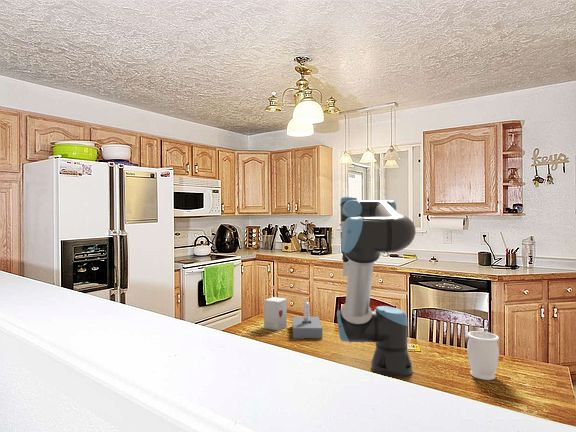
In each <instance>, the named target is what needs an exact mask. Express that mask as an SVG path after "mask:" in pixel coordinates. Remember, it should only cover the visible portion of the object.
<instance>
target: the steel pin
mask: <svg viewBox="0 0 576 432" xmlns="http://www.w3.org/2000/svg"><path fill="white" fill-rule="evenodd" d="M310 311H311V310H310V301H304V302H303V317H304V323H310V317H311V316H310V315H311V313H310Z"/></svg>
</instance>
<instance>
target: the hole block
mask: <svg viewBox="0 0 576 432" xmlns="http://www.w3.org/2000/svg"><path fill="white" fill-rule="evenodd" d="M291 319H292V321H291V322H292V338H293V339H295V340H297V339H299V340H300V339H304V338H322V339H323V325H322V322H321V320H320V316H310V323H304V316H292V318H291Z"/></svg>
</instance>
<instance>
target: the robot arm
mask: <svg viewBox="0 0 576 432" xmlns="http://www.w3.org/2000/svg"><path fill="white" fill-rule="evenodd" d="M339 206H340V223H339V225H338V226H339V227H340V250H341V252H342V257H341V260H342V262H343V263H342V267H343V268H342V274H343V275H342V276H343V277H347V278H346V279H347V282H346V292H345V293H346V294H345V303H344V304H342V307H341V309H340V310H339V309H338V310H337V311H336V317H337V319H336V321H337V328H338V336H339V340H341V341H342V342H347V343H375V350H374V353H373V356H372V358H371V360H370V361H371V362H370V363H371V370H372V371H373V372H374V373H376V374H379V375H381V376H384V375H385V376H384V377H390V378H403V377H408V376H410V375H411V374H412V373H413V365H412V361H411V358H410V355H409V352H408V326H409V323H408V316H407V313H406V312H405V311H403V310H402V309H400V308H396V307H392V306H388V305H379V306H376V308H375V310H372V308H371V307H370V302H371V301H370V300H371V295H372V294H371V292H372V283H373V275H374V267H375V263H376V262H378V260H379V258H380V256H381V255H380V254H381V253H384V254H385V253H397V252H400V251H402V250H404V249H406V248H408V247H409V246H410V245H411V243H412V242H413V241H414V239H415V236H416V226H415V223H414V222H413V221H412V220H411V219H410V218H409V217H408V216H406V215H403V214H400V212H398V211H397V204H396V201H395V200H393V199H392V200H389V199H383V200H381V199H380V200H378V199H377V200H373V199H372V200H371V199H370V200H367V199H365V200H363V199H362V200H361V199H358V198H357V197H355V196H345V197H341V198H340V204H339ZM377 372H378V373H377Z"/></svg>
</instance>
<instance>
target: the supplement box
mask: <svg viewBox="0 0 576 432" xmlns="http://www.w3.org/2000/svg"><path fill="white" fill-rule="evenodd" d="M287 301H288V299H287V298H285V297H277V296H272V297H269V298H266V299H263V307H264V308H263V309H264V310H263V329H267V330H273V331H280V330H283V329H284V328H286V326H287V323H288V322H287V319H288V318H287V317H288V316H287V312H288V311H287V310H288V309H287V307H288V306H287V305H288V304H287V303H288V302H287Z"/></svg>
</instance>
